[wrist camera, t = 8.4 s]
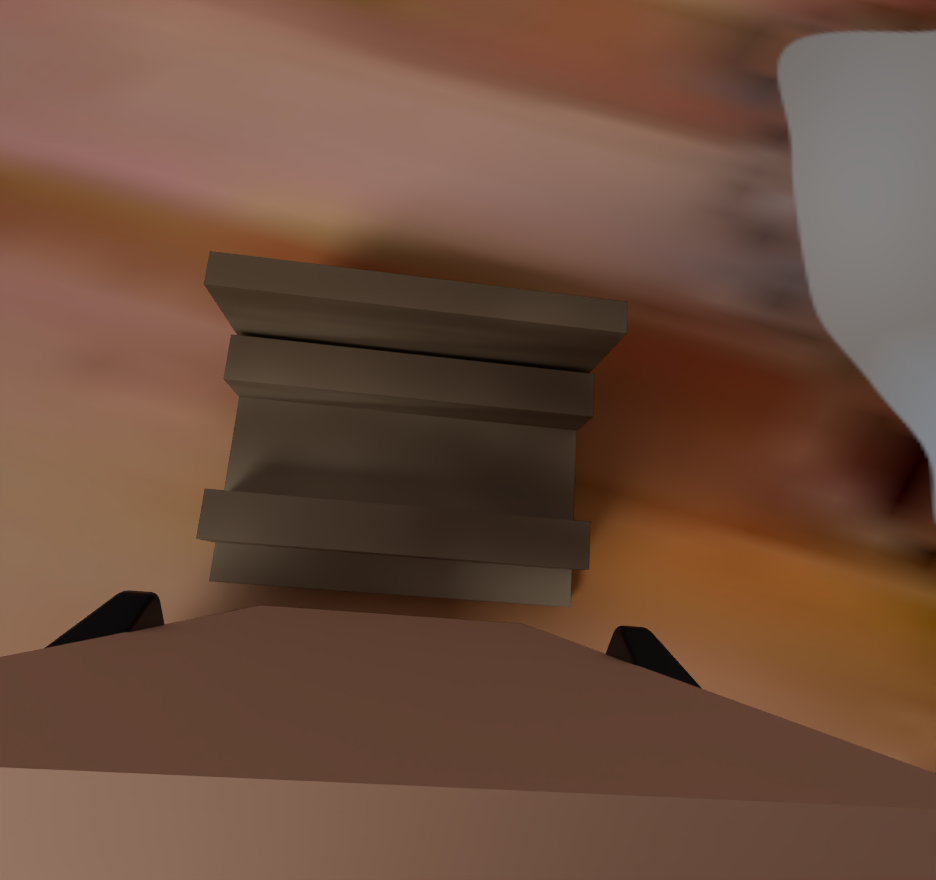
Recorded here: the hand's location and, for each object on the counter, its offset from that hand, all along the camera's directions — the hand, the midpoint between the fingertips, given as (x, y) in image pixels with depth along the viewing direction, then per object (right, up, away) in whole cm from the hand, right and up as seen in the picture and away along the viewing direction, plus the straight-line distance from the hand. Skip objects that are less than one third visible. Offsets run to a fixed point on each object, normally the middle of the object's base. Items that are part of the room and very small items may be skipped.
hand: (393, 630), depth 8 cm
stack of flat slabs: (-1, +2, +14) cm, 14 cm away
